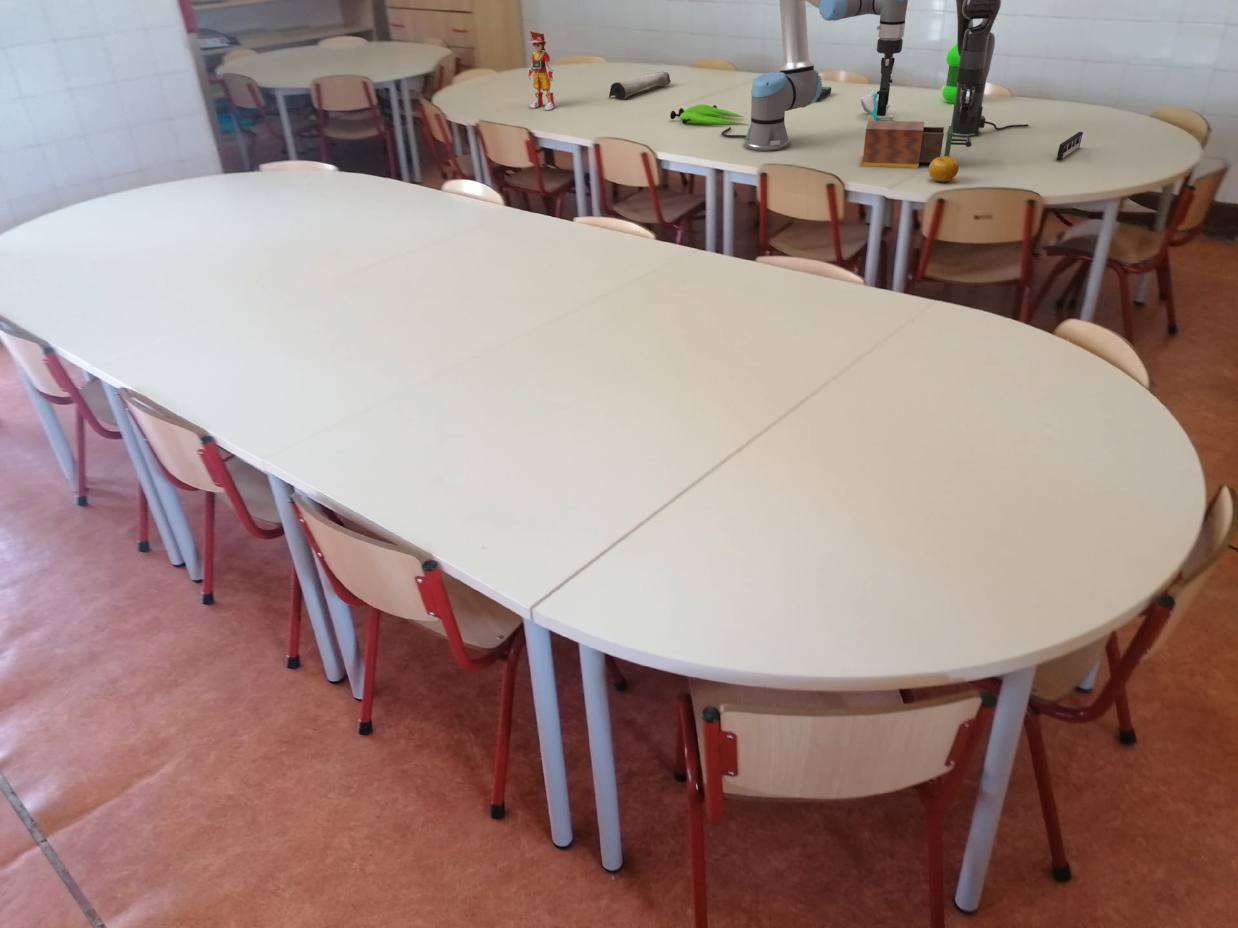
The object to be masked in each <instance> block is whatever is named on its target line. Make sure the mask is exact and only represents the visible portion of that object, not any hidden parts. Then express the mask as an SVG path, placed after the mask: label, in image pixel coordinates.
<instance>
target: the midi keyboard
mask: <svg viewBox="0 0 1238 928" xmlns="http://www.w3.org/2000/svg"><path fill="white" fill-rule="evenodd" d="M1083 134H1084V131H1078V132H1076V133H1075V134H1073V135H1072V136H1070V137H1069V138H1067V139H1066V140H1063V142H1061V143H1060V144H1059V146H1058V151H1057V156H1056V161H1061V160H1063V159H1064V158H1066V157H1067V156H1068V155H1069V154H1071V153H1073V152H1074V151H1076V150H1077V149H1078V148H1080V147H1081V142H1082V139H1083V138H1082V137H1083Z"/></svg>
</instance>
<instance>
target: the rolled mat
mask: <svg viewBox="0 0 1238 928" xmlns="http://www.w3.org/2000/svg"><path fill="white" fill-rule="evenodd" d="M671 83H672V81H671V77H670V74H669V72H668V71H658V72H654V73H649V74H645V75H640V76H637V77H633V78H628V79H623V80H620V81H616V82H613V83H612V84H611V85H610V89H609V95H608V97H609V98H611V97H616V99H620V100H622V101H623V100H626V99H627V98H629V97H630V96H632V95H635V94H636V93H638V92H640V91H643V90H644V89H647V88H650V87H655V86H658V87H659V86H661V87H665V86H669V85H670V84H671Z"/></svg>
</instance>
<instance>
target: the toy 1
mask: <svg viewBox="0 0 1238 928" xmlns="http://www.w3.org/2000/svg"><path fill="white" fill-rule="evenodd" d="M529 33H530V35H531V36H528V37H527V38H528V39H529V40H528V41H527V43H529V44H530V43H531V44H532V48H533V50H534V51H533V52H532V55H531V58H530V59H531V63H530V66H528V74H527V75H528V76H527V77H528V79H529V80H531V75H532V74H533V84H532V85H533V86H532V87H533V88H534V89H535V90H536V92H534V95H535V97H536V100H535V101H533V102H531V105H530V108H531V109H535V108H538V107H542V106H544V101H543V100H544V99H543V95H544V92H546V94H545V97H546V99H547V103H546V104H545V106H544V110H546V111H549V110H553V109H554V107H555V106H556V105H555V99H554V92H551V91H550V90H551V86H552V84H551V82H552V81H553V80H554V77H553V73H554V71H555V70H554V69H552V68H551V63H550V61H551V59H550V58H551V57H550V54H549V53H548V52H547V50H546V48H545V46H546V44H547V41H545V35H544V33H543V32H542V33H539V32H535V31H529Z"/></svg>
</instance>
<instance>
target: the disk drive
mask: <svg viewBox="0 0 1238 928" xmlns="http://www.w3.org/2000/svg"><path fill="white" fill-rule="evenodd" d="M831 93H832V87H830V86H822V89H821V93H820V95H819V97H818V98H817V100H816V101H815V102H819V101H821V100H823V99H824V98H826V97H828V96H829V95H831Z"/></svg>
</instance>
